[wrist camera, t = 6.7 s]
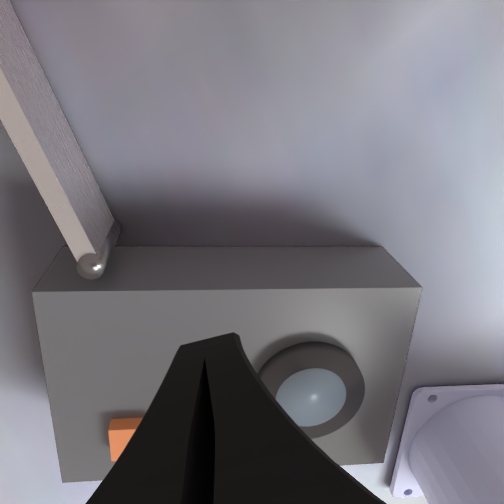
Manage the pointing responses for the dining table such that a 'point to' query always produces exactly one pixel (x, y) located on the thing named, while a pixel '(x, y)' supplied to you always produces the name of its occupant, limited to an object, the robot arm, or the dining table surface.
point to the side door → (52, 151)
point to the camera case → (219, 323)
